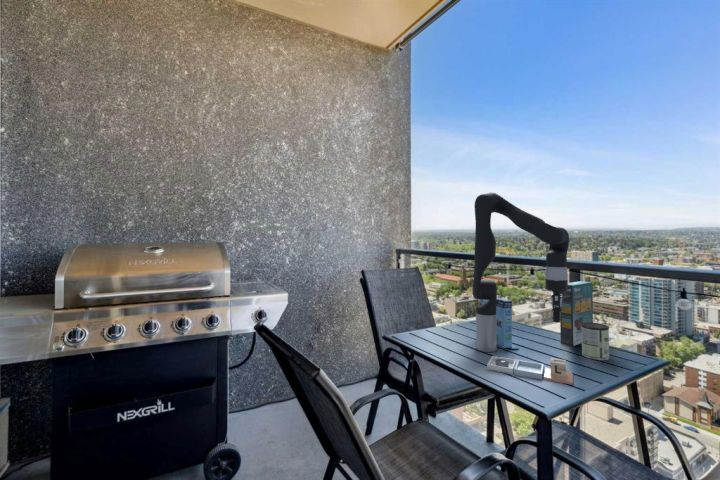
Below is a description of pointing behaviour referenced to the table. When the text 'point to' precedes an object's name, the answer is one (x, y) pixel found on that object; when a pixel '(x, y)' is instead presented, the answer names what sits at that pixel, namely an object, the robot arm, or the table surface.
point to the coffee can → (595, 341)
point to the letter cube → (558, 367)
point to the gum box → (503, 322)
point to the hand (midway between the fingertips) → (556, 319)
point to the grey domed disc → (502, 363)
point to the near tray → (493, 367)
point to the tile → (558, 379)
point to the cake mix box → (575, 311)
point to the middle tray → (529, 369)
